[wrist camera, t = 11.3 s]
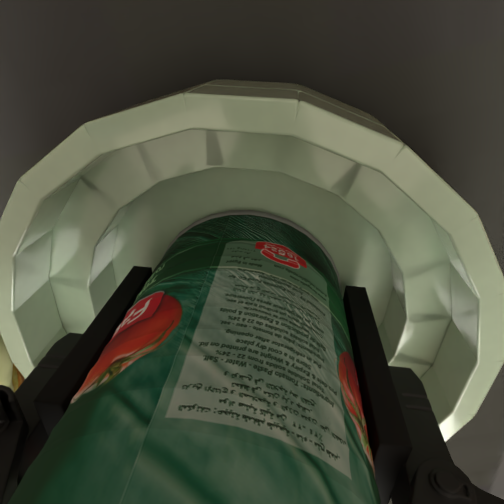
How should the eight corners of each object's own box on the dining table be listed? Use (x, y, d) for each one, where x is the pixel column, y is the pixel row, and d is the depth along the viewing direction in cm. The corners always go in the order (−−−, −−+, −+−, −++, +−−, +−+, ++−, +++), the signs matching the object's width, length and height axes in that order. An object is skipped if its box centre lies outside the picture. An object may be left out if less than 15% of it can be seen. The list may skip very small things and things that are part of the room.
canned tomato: (137, 216, 14) (-178, 550, 5) (340, 201, 13) (460, 605, 4) (181, 360, 18) (53, 707, 9) (341, 359, 17) (400, 761, 7)
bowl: (28, 66, 13) (-106, 76, 9) (512, 92, 12) (640, 118, 7) (104, 383, 21) (55, 470, 17) (392, 417, 20) (419, 519, 16)
